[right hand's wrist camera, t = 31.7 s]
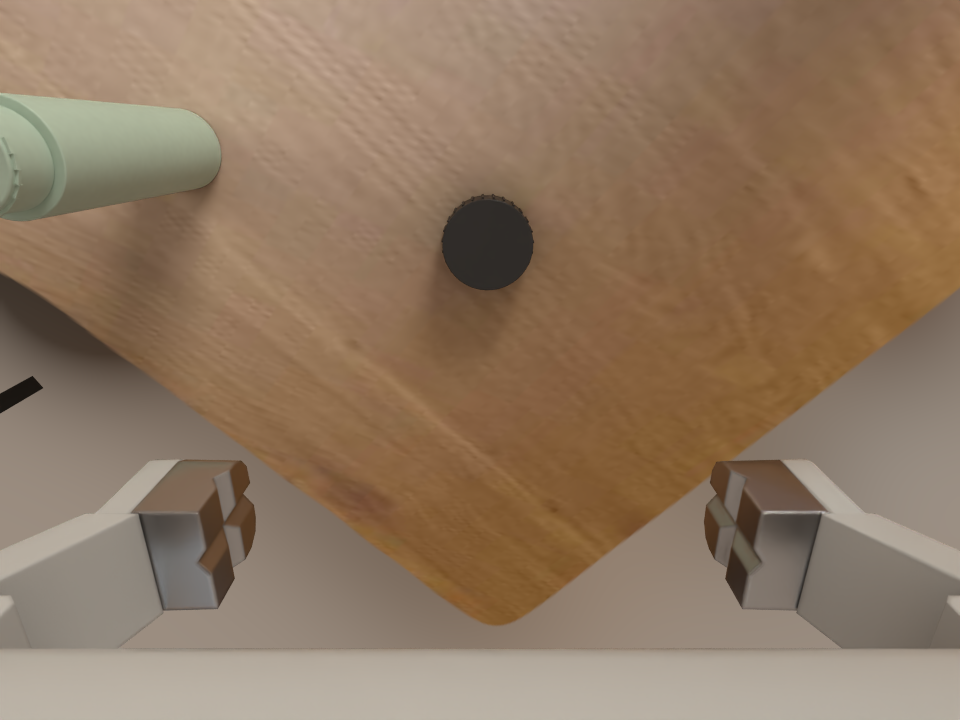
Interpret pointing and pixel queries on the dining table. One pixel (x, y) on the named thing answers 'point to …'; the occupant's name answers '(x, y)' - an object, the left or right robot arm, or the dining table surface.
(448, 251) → the lid
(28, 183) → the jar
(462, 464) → the dining table surface
